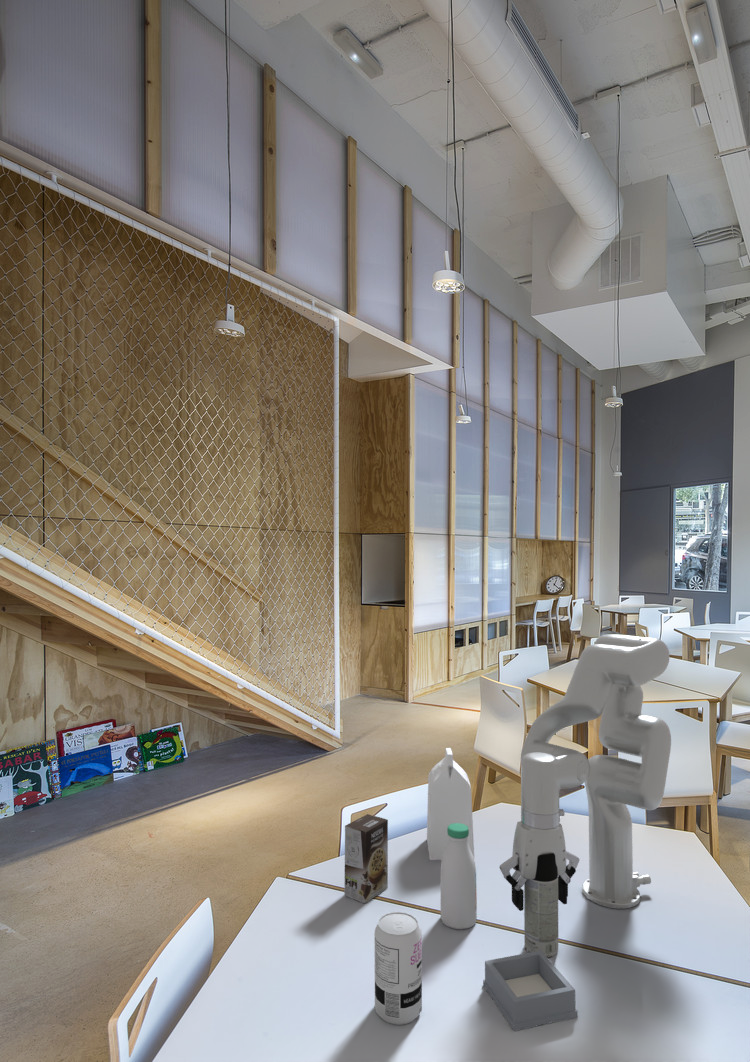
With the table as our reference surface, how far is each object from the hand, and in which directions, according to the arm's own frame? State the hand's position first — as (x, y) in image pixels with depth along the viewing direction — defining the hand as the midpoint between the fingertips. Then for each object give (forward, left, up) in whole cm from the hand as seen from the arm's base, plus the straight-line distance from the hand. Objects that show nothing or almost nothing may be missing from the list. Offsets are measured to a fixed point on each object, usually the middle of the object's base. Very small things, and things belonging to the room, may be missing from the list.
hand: (539, 904), depth 133 cm
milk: (+1, -46, -9) cm, 47 cm away
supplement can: (+33, +9, -9) cm, 35 cm away
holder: (+10, +13, -9) cm, 18 cm away
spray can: (0, 0, -9) cm, 9 cm away
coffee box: (+28, -31, -9) cm, 43 cm away
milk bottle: (+12, -14, -9) cm, 21 cm away
